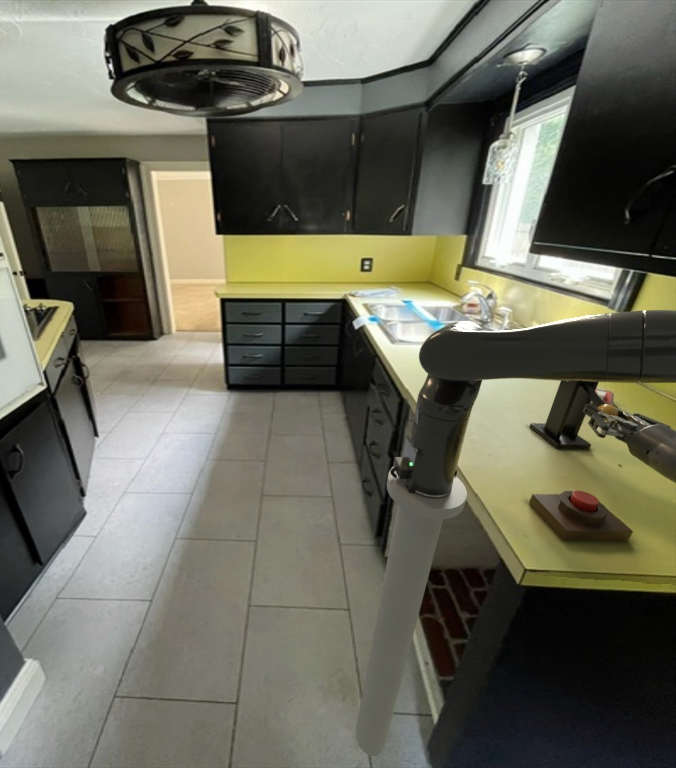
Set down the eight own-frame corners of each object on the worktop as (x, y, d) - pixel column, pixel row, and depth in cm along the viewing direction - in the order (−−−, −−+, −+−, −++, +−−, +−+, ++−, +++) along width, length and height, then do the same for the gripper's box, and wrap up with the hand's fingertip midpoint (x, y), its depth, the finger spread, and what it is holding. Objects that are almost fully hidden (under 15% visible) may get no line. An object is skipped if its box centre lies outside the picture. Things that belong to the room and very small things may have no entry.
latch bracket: (589, 448, 86) (619, 380, 79) (556, 448, 86) (582, 379, 79) (559, 427, 95) (583, 364, 88) (529, 427, 95) (550, 363, 88)
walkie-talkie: (575, 391, 116) (568, 413, 102) (580, 379, 114) (574, 399, 100) (611, 400, 110) (609, 424, 97) (617, 386, 109) (615, 409, 95)
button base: (563, 540, 61) (571, 522, 59) (528, 502, 69) (535, 486, 67) (628, 540, 61) (638, 522, 59) (586, 503, 69) (593, 486, 68)
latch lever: (614, 424, 78) (626, 414, 75) (597, 424, 78) (609, 414, 75) (579, 379, 86) (589, 369, 84) (564, 379, 86) (574, 368, 84)
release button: (580, 512, 62) (583, 504, 61) (564, 497, 65) (567, 490, 64) (601, 512, 62) (604, 504, 61) (584, 498, 65) (588, 490, 64)
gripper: (723, 437, 63) (634, 392, 79) (642, 437, 63) (569, 392, 79) (700, 471, 66) (619, 421, 82) (624, 471, 66) (557, 422, 82)
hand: (595, 407), depth 80 cm, fingers closed on latch lever, 3 cm apart
